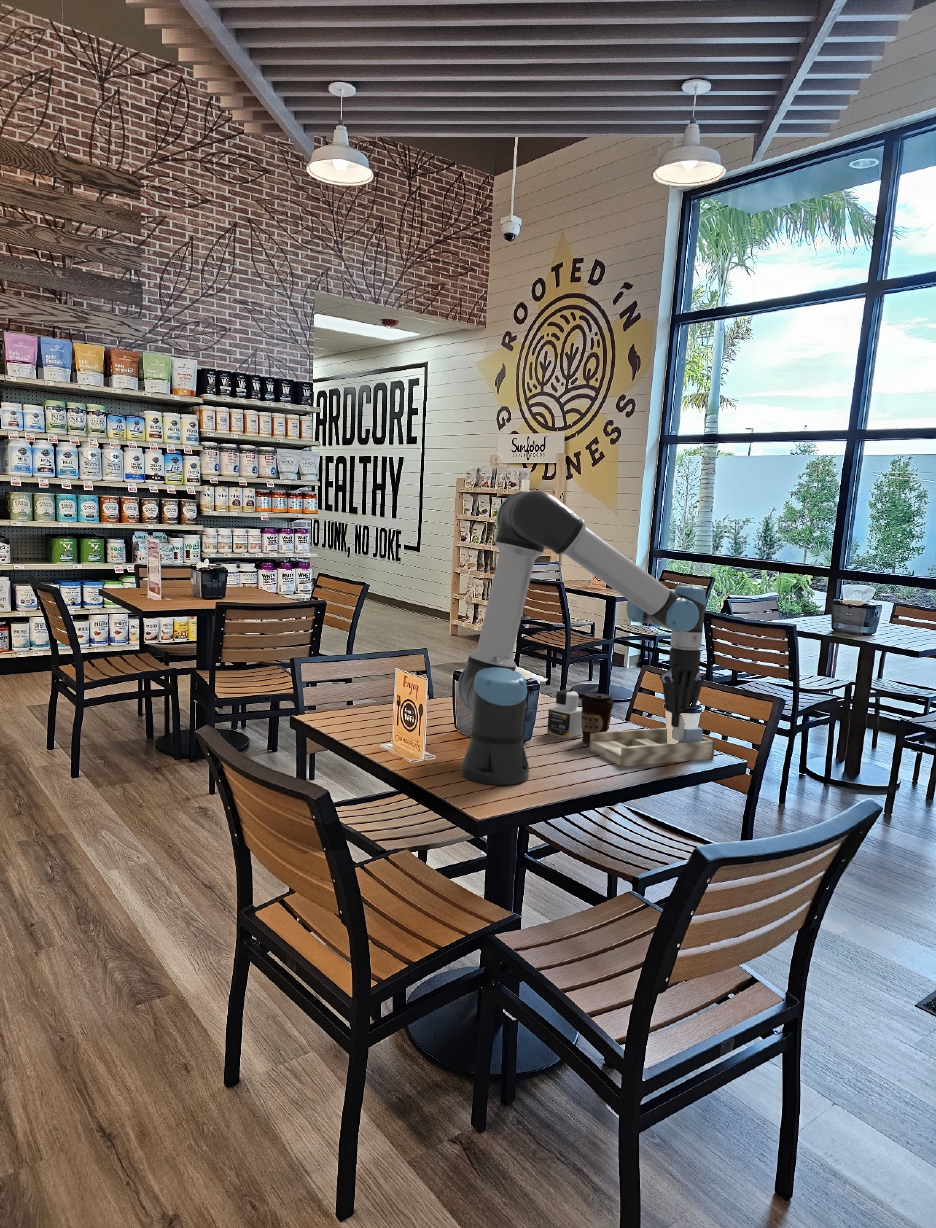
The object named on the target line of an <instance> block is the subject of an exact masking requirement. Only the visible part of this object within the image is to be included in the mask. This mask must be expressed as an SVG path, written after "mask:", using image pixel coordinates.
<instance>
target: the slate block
mask: <svg viewBox="0 0 936 1228" xmlns="http://www.w3.org/2000/svg"><path fill="white" fill-rule="evenodd" d="M696 727H697V729H695V728H694V729H684V738H683V741H679V742H678V743H689V742H702V737H703V733H704V732H703V731H704V729H703V728H701V727H699V726H696Z"/></svg>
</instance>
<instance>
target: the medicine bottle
mask: <svg viewBox="0 0 936 1228" xmlns="http://www.w3.org/2000/svg"><path fill="white" fill-rule="evenodd" d="M578 706H579V693H578V692H576V691H574V690H569V689H568V690H567V689H561V690H558V691H556V695H555V706H552V707H549V708H548V712H547V714H548V715H547V716H548V717H547V728H546V729H547V732H546V733H547V734H548V735H553V736H557V737H561V738H565V739H570V738H575V737H578V736H583V734H582V728H581V723H582V720H581V714H582V708H579V707H578Z"/></svg>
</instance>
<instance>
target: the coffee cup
mask: <svg viewBox="0 0 936 1228" xmlns="http://www.w3.org/2000/svg"><path fill="white" fill-rule="evenodd" d="M612 698H613V697H612V696H611V695H610V694H605V693H592V692H591V693H590V692H587V693H584V694H583V697H582V698H581V709H582V714H581V720H582V723H581V728H582V738H581V742H582V743H584V744H587V745H590V733H597V732H608V730H609V729H610V723H611V719H612V718H611V715H612V710H613V706H614V701H613V700H612Z"/></svg>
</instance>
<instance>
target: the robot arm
mask: <svg viewBox="0 0 936 1228" xmlns="http://www.w3.org/2000/svg"><path fill="white" fill-rule="evenodd" d="M496 522H497V527H498V528H497V534H496V539H495V541H494V544H495V545H496V547H497V549H498V551H499V553H498V557H497V562H496V566H495V569H494V575H493V579H492V583H491V587H490V588H491V589H490V592H489V596H488V600H487V605H486V610H485V613H484V618H483V621H482V626H481V630H480V636H479V639H478V643H477V647H476V649H475V650H474V651H471V652H470V653H468V659H467V662H466V667H465V668H464V669H463V670H462V672H461V673H460V676H459V678H458V683H457V684H458V685H457V687H458V688H457V689H458V694H459V697H460V700H461V701H462V703H463V704H464V706H465V707H466V708H468V709H469V710H470V711H471V712H472V722H471V724H472V725H471V738H470V741H469V744H468V747H467V749H466V753H465V755H464V757H463V760H462V763H461V775H462V777H464V778H466V779H467V780H469V781H473V782H474V783H475V782H476V783H480V784H485V785H492V786H493V785H495V786H511V785H517V784H521V783H524V782H526V781H527V780H528V779H529V775H530V766H529V761H528V758H527V753H526V750H525V746H524V731H525V715H526V704H527V701H526V700H527V694H528V688H527V680H526V677H525V676H524V675H523V674H522V673H520V672H519V671H516V669H517V663H516V662H515V661H514V659H513V654H514V653H513V652H514V649H515V644H516V641H517V637H518V633H519V629H520V625H521V620H522V615H523V611H524V607H525V602H526V598H527V595H528V591H529V586H530V582H531V577H532V573H533V569H534V565H535V561H536V559H538V558H539V557H540V556H542V555H543V554H544V551H545V548H547V549H549V550H551V551H552V552H553V553H555V554H556V555H557V556H560V555H561V556H563V555H565V556H567V557H568V558H569V559H571V560H572V561H574V562H575V563H577V564H578V565H580V566H581V567H582V568H583V569H585V571H588V572H589V573H590V574H591V575H593V576H594V577H596V578H597V579H599V580H600V581H601V582H603V583H604V584H606V585H607V586H608V587H610V588H612V590H614V592H617V593H618V594H620V595H621V596H622V597H623V598H626V600H627V602H626V614H627V618H628V619H629V620H630V622H632V623H638V624H651V625H654V626H657V627H662V628H664V629H668V630H671V631H670V632H671V633H670V635H671V636H670V641H669V642H670V645H671V647H670V648H669V658H668V660H669V662H670V663H669V667H668V669H667V671H668V672H666V673H665V674H660V676H659V679H660V681H661V682H662V690H663V698H664V700H663V701H664V707H665V709H664V710H665V711H666V712H669V713H671V721H670V725H671V727H672V728H673V730H672V738H673V739H675V740H678V741H683V738H684V727H685V726H684V725H685V723H684V719H683V717H682V715H680V714H681V706H683V707H684V709H689V707H690V704H691V703H692V704H691V707H692V708H694V707H695V709H696V707H697V704H698V700H699V698H700V693H701V689H702V685H703V684H704V682H705V680H706V679H707V675H706V674H702V673H701V672H700V669H699V665H700V663H701V655H702V652H701V651H702V650H701V649H700V648H702V642H703V629H704V620H705V613H706V612H705V609H706V606H707V603H706V596H707V595H706V589H705V588H703V587H701V586H693V585H676V587H675V589H674V591H673V590H671V589H670V588H668V587H667V586H666V585H664V584H663V583H662V582H660V581H659V580H658V579H656V578H655V577H654V576H652V575H651V574H649V573H648V572H647V571H646V570H644V569H643V568H641V567H640V566H639V565H637V564H636V563H635V562H634V561H632V560H630V558H628V557H627V556H625V555H624V554H623V553H621V552H620V551H619V550H618V549H616V548H615V547H613V546H612V545H611V544H610V543H608V542H606V541H605V540H604V539H602V538H601V537H600V536H598V535H597V534H595V533H594V532H593V531H592V530H590V529H589V528H588V527H586V523H585V519H583V518H582V517H581V516H580V515H579V514H577V513H575V512H574V511H573V510H572V509H570V508H569V507H568V506H567V505H565V504H564V503H563V502H562V501H561V500H559V499H558V498H556V496H554V495H552V494H550V493H548V492H547V491H544V490H532V491H531V490H529V491H519V492H518V491H517V492H516V493H513V494H511V495H509V496H508V497H507V498H506V499H504V500H503V501H502V503H501V505H500V506H499V508H498V511H497V516H496Z"/></svg>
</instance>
